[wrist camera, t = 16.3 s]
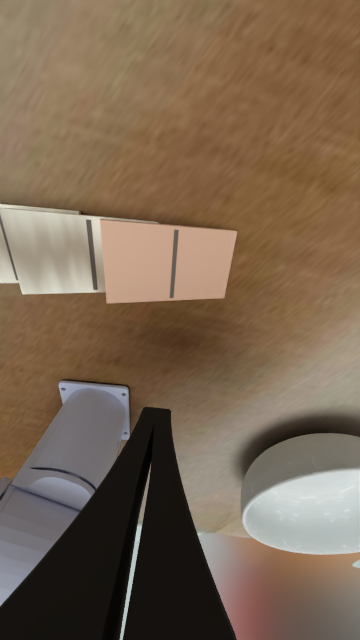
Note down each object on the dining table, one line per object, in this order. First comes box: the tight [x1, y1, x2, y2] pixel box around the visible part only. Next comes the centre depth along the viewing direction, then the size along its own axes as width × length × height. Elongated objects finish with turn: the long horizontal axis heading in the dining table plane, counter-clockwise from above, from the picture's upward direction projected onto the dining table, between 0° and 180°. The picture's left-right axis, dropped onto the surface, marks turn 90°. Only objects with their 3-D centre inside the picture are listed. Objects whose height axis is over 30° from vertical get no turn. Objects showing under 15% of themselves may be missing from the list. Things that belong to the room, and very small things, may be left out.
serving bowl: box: [241, 433, 360, 554], centre depth 26 cm, size 21×21×7 cm
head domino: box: [100, 219, 237, 303], centre depth 15 cm, size 5×2×9 cm
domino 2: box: [0, 208, 159, 294], centre depth 15 cm, size 5×2×9 cm
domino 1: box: [0, 204, 81, 283], centre depth 14 cm, size 5×2×9 cm
